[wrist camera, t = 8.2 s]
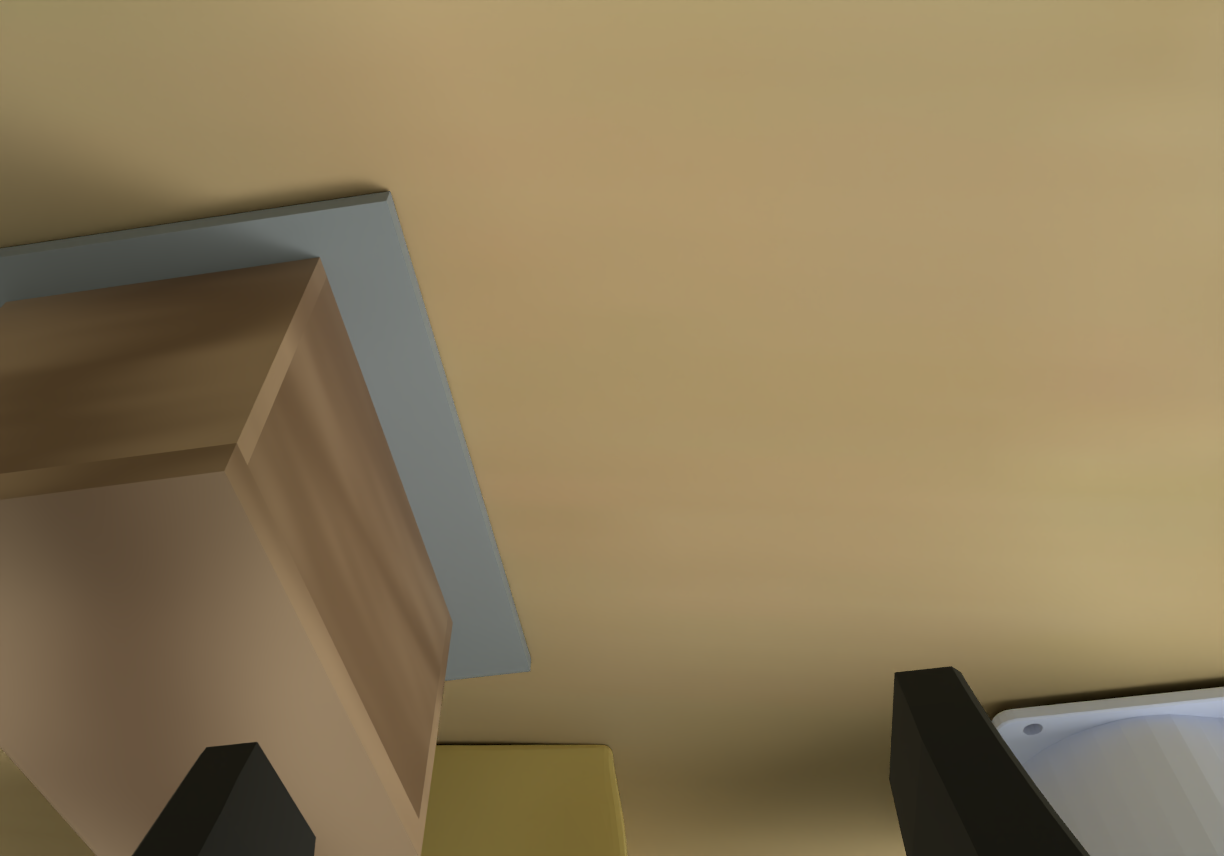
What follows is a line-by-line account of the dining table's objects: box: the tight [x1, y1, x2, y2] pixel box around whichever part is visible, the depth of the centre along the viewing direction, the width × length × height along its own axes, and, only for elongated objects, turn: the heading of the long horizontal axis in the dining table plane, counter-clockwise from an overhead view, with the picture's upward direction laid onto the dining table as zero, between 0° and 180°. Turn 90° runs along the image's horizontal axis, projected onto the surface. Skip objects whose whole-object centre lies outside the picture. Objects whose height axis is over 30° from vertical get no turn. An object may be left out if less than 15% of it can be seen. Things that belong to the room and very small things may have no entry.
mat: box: [0, 191, 531, 681], centre depth 22 cm, size 9×13×1 cm
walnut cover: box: [0, 257, 453, 856], centre depth 19 cm, size 6×10×6 cm, turn 8°
